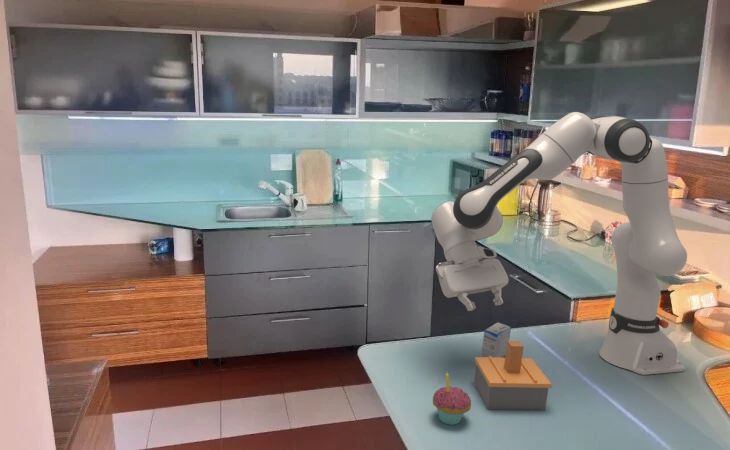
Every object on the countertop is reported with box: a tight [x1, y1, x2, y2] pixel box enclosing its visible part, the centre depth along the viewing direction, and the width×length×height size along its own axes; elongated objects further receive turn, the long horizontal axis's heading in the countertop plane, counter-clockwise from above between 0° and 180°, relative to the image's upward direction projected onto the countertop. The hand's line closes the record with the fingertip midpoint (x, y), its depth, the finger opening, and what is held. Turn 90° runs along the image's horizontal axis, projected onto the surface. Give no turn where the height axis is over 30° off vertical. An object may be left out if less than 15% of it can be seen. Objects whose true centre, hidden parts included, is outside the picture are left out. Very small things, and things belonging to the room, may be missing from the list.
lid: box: [474, 340, 553, 389], centre depth 138 cm, size 15×13×10 cm
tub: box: [473, 363, 549, 411], centre depth 139 cm, size 14×12×6 cm
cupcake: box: [432, 370, 472, 426], centre depth 127 cm, size 9×8×12 cm
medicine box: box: [480, 322, 512, 358], centre depth 160 cm, size 8×4×9 cm, turn 141°
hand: (486, 307), depth 144 cm, fingers open, 8 cm apart
